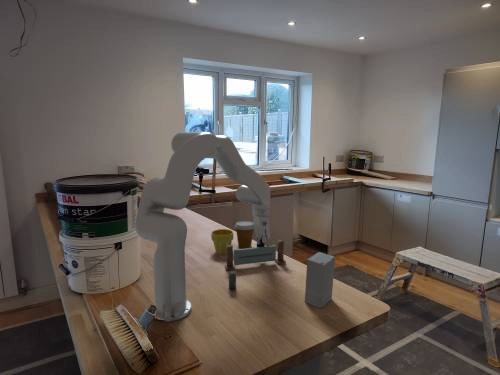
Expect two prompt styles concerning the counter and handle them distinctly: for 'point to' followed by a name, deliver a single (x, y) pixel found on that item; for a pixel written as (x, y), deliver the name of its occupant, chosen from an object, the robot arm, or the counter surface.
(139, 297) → the counter surface
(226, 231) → the plant pot
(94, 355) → the counter surface
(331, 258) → the skincare box
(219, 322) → the counter surface
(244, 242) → the disposable coffee cup
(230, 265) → the gate posts
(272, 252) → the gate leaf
